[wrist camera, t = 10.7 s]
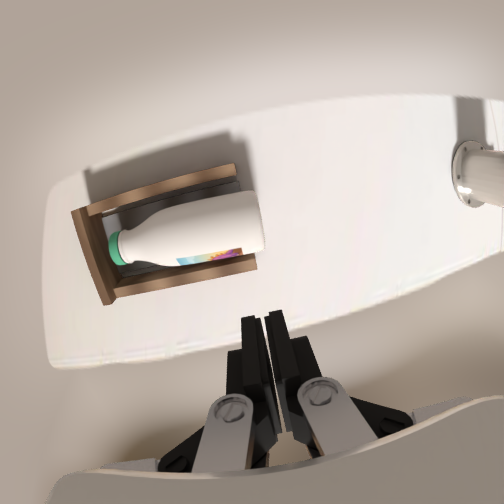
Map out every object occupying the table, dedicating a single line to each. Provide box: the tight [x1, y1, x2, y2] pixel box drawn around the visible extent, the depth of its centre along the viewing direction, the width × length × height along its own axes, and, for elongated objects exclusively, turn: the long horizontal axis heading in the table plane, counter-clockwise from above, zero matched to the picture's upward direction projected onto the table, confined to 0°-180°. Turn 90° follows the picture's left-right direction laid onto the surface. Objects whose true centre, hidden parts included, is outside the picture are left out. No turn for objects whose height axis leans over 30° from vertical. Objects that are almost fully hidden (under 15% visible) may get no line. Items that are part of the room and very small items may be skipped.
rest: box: [71, 163, 257, 306], centre depth 36 cm, size 22×14×6 cm, turn 102°
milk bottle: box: [109, 190, 265, 266], centre depth 35 cm, size 8×8×20 cm
